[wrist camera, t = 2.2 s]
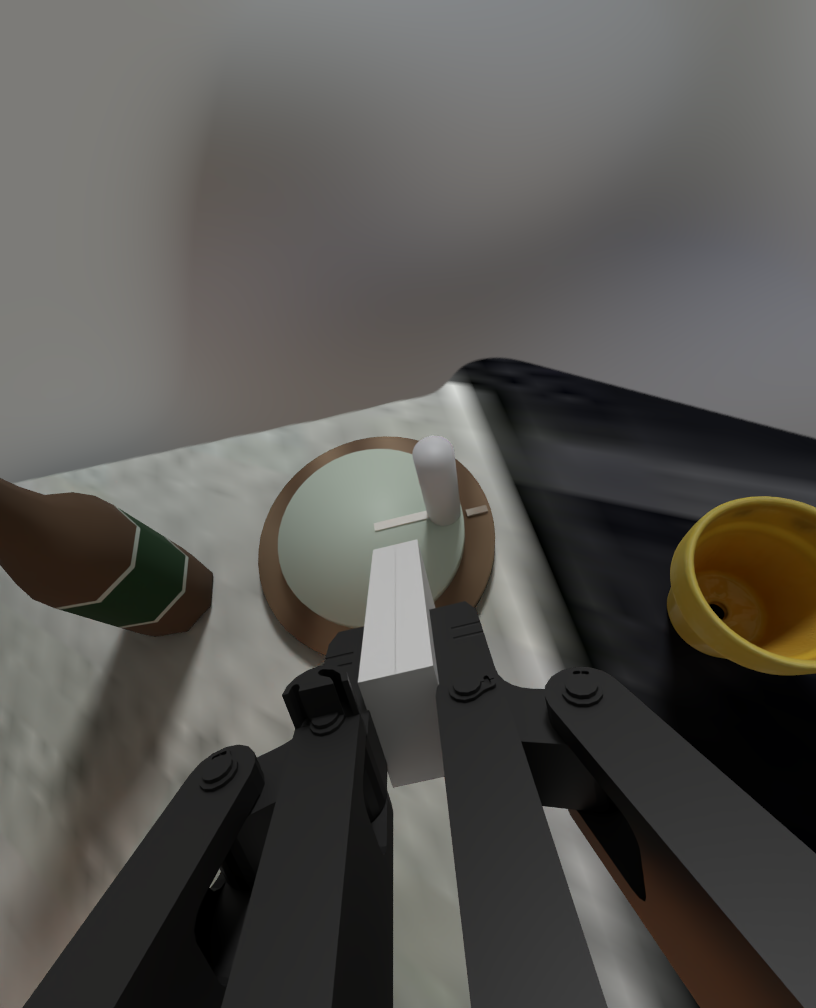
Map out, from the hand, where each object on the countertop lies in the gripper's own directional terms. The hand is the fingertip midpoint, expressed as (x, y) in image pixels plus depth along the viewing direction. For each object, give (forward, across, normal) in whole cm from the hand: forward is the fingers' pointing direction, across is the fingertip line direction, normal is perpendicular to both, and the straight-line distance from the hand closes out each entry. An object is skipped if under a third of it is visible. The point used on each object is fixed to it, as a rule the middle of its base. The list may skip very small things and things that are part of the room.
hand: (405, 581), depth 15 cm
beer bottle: (+25, -23, -8) cm, 35 cm away
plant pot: (+17, +20, -17) cm, 31 cm away
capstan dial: (+24, -4, -7) cm, 25 cm away
